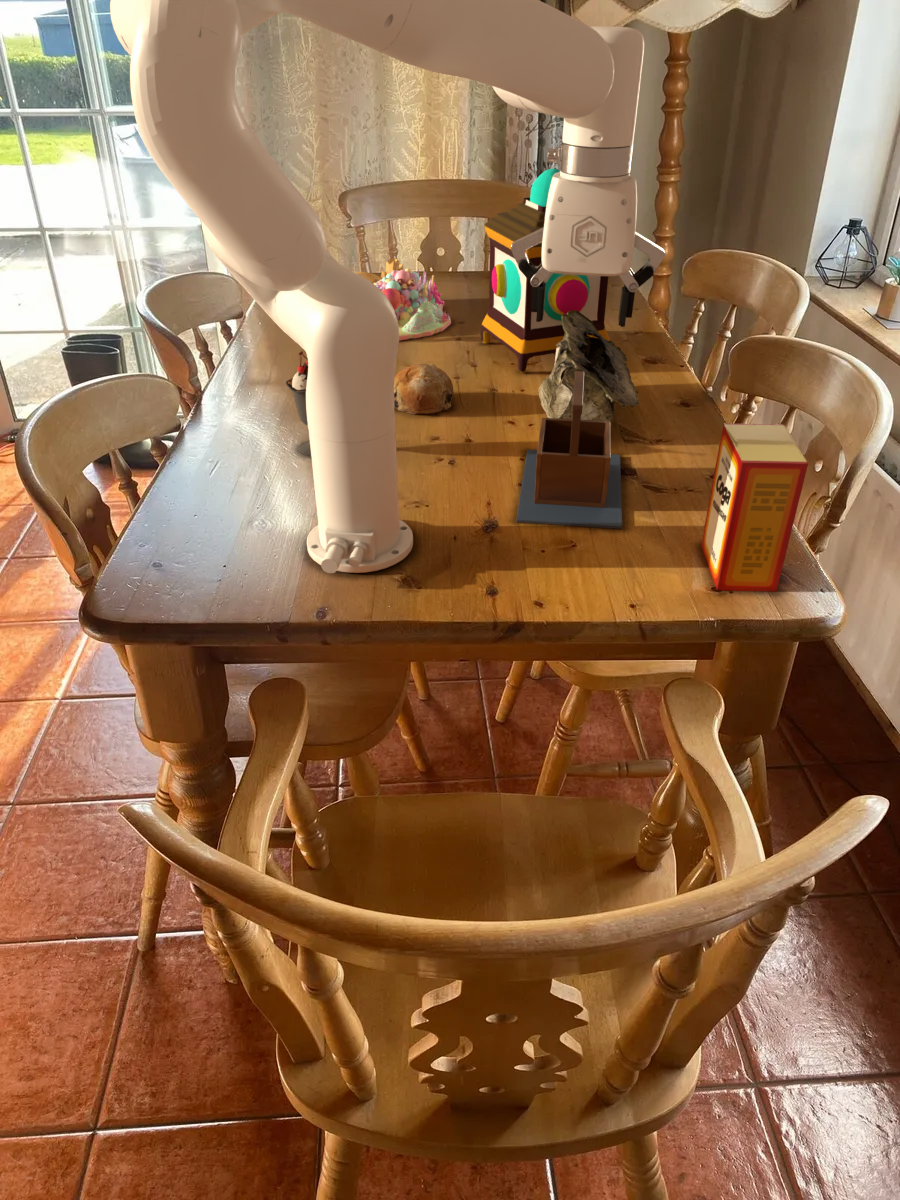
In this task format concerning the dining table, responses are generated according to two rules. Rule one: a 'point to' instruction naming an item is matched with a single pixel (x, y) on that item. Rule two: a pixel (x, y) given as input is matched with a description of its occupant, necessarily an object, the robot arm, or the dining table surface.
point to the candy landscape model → (411, 300)
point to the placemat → (566, 513)
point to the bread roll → (422, 390)
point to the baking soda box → (752, 506)
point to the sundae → (301, 397)
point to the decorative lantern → (514, 290)
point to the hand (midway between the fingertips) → (580, 320)
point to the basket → (573, 457)
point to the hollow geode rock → (587, 373)
